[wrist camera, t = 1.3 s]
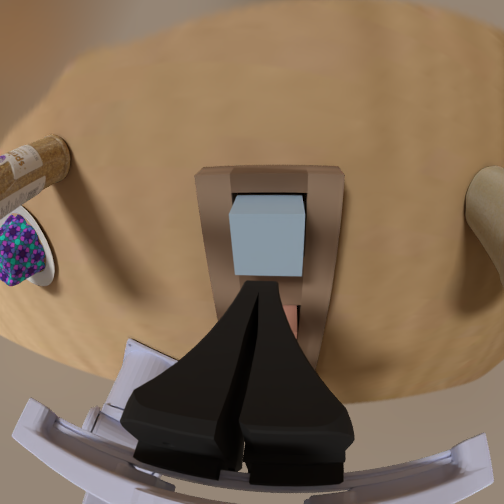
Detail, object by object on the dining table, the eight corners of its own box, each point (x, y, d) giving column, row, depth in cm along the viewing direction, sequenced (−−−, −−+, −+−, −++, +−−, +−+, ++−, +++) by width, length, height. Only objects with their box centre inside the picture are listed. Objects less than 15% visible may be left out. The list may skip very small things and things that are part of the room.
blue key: (300, 250, 18) (301, 276, 16) (241, 249, 19) (235, 275, 16) (301, 194, 16) (305, 214, 14) (237, 194, 17) (228, 214, 14)
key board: (309, 380, 30) (309, 394, 28) (235, 377, 31) (233, 391, 29) (338, 166, 17) (344, 174, 15) (203, 167, 18) (194, 175, 16)
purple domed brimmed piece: (45, 295, 29) (24, 320, 24) (-5, 234, 24) (-28, 254, 20) (70, 254, 24) (41, 284, 19) (10, 177, 20) (-23, 197, 15)
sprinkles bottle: (66, 127, 16) (-71, 193, 5) (77, 177, 19) (-44, 267, 7) (36, 140, 17) (-80, 205, 6) (46, 185, 19) (-58, 265, 8)
